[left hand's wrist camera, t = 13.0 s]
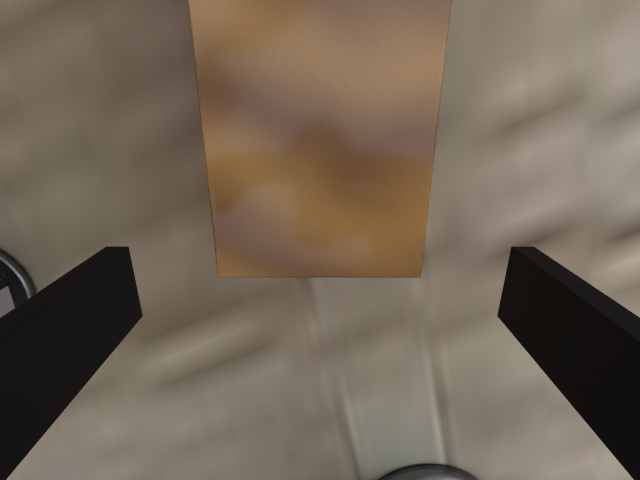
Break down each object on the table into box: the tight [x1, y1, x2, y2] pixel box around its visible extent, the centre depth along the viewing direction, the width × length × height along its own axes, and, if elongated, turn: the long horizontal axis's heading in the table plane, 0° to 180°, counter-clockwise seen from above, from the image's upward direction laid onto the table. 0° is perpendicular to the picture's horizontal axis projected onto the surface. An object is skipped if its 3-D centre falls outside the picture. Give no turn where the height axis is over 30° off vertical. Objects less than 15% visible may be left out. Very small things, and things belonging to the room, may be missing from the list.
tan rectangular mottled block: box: [188, 0, 451, 277], centre depth 22 cm, size 17×11×11 cm, turn 0°
